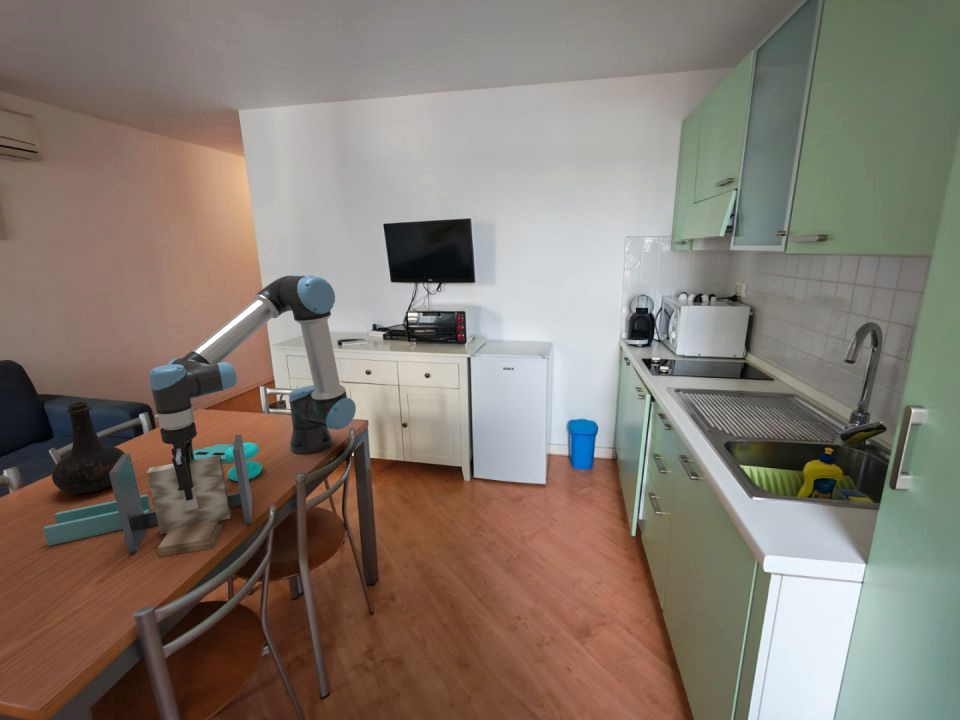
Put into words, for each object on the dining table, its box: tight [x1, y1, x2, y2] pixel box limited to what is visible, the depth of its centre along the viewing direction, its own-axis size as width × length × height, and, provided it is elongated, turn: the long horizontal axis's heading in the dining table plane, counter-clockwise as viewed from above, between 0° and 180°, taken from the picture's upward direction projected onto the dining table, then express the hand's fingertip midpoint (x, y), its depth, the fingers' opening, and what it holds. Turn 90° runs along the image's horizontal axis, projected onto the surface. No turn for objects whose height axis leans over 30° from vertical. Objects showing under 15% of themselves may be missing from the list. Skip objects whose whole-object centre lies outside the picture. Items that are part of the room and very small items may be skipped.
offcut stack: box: [157, 521, 224, 558], centre depth 110 cm, size 12×8×3 cm
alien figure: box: [193, 443, 234, 464], centre depth 154 cm, size 20×2×20 cm
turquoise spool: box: [225, 442, 263, 482], centre depth 142 cm, size 10×10×10 cm
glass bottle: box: [51, 401, 126, 495], centre depth 134 cm, size 18×18×28 cm
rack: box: [109, 434, 254, 554], centre depth 114 cm, size 27×12×22 cm, turn 116°
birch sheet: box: [146, 455, 232, 535], centre depth 116 cm, size 16×3×18 cm, turn 116°
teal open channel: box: [42, 493, 152, 547], centre depth 117 cm, size 20×8×5 cm, turn 116°
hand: (193, 505), depth 117 cm, fingers closed on birch sheet, 3 cm apart
